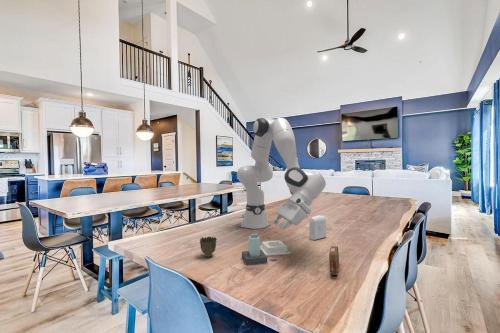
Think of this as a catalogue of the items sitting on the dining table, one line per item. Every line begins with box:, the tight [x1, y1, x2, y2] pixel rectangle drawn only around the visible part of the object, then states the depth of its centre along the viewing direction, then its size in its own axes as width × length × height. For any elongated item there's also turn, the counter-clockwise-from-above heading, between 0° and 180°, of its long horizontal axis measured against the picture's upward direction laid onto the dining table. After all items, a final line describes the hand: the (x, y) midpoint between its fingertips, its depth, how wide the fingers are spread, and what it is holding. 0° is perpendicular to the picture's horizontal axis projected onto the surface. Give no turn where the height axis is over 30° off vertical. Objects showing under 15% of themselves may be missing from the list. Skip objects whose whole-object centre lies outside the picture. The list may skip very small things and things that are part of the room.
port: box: [260, 239, 292, 257], centre depth 123 cm, size 12×12×3 cm
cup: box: [199, 236, 218, 258], centre depth 116 cm, size 8×7×8 cm
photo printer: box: [308, 214, 327, 241], centre depth 141 cm, size 10×4×12 cm, turn 123°
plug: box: [248, 233, 261, 257], centre depth 111 cm, size 4×4×11 cm
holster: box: [241, 249, 268, 266], centre depth 111 cm, size 9×9×2 cm
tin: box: [328, 245, 340, 276], centre depth 101 cm, size 15×3×8 cm, turn 158°
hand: (277, 226), depth 113 cm, fingers open, 8 cm apart
